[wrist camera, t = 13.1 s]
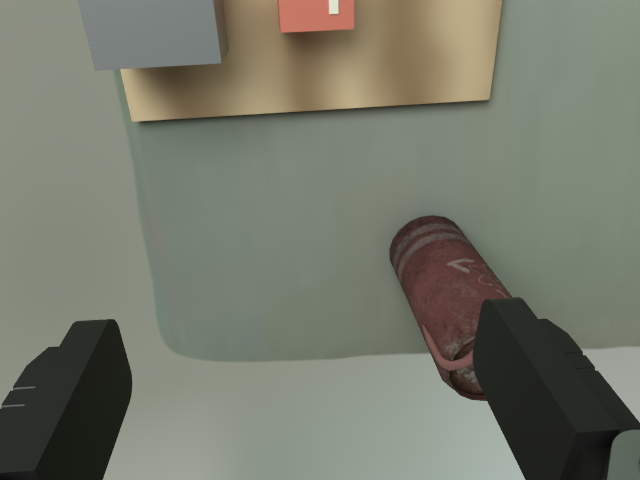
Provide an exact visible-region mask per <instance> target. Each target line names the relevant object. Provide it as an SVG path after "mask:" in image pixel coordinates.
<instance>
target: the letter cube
mask: <svg viewBox="0 0 640 480" xmlns="http://www.w3.org/2000/svg"><path fill="white" fill-rule="evenodd" d="M277 3H278V17H279V28H280V32H281V33H286V32H306V31H326V30H346V29H354V0H277Z"/></svg>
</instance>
